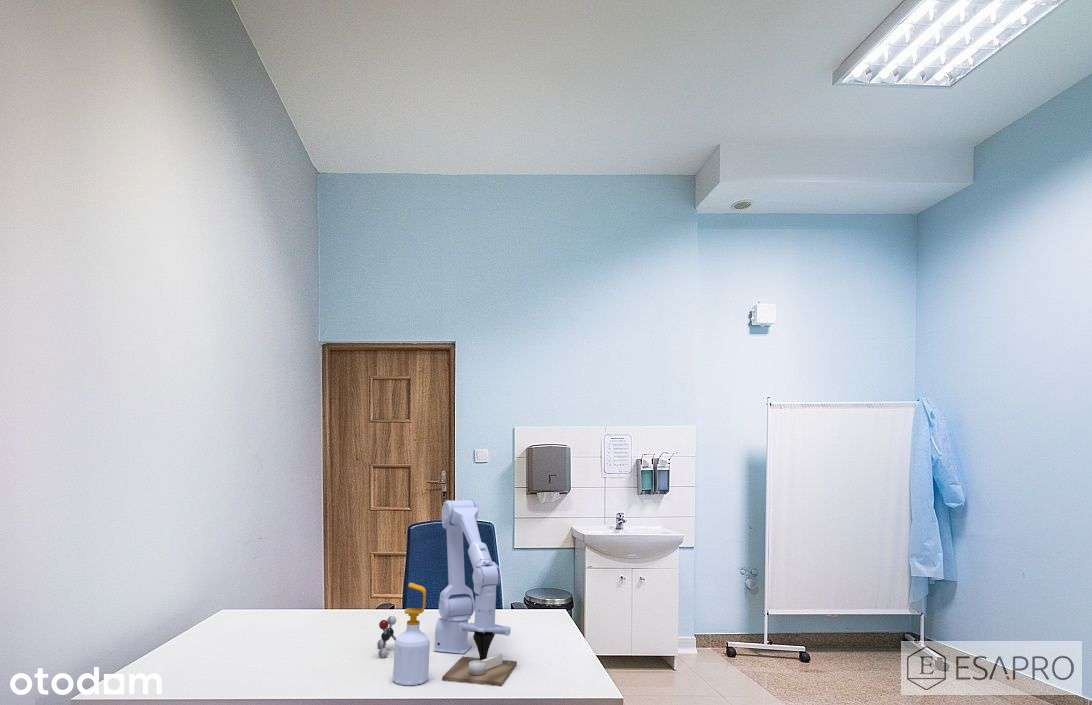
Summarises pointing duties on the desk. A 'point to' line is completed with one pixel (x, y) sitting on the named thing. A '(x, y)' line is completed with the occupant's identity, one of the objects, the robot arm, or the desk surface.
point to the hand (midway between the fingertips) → (483, 659)
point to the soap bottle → (412, 649)
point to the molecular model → (386, 635)
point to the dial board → (491, 675)
